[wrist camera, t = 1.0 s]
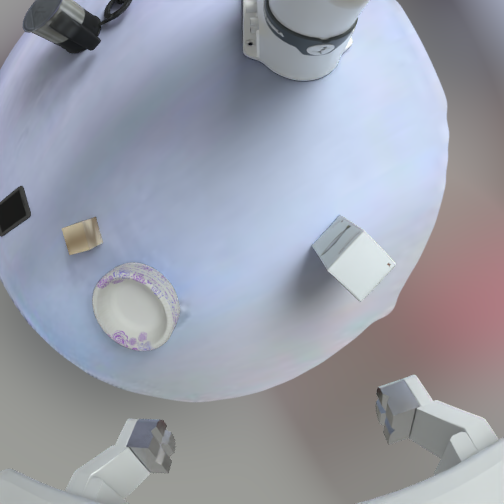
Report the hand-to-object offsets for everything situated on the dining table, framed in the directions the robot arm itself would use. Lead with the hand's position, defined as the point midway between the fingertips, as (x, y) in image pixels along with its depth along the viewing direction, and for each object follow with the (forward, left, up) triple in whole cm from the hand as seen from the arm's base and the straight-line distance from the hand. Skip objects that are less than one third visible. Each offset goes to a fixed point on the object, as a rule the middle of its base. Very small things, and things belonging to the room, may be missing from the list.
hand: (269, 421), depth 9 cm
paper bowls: (+9, -24, -40) cm, 47 cm away
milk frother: (-47, -22, -40) cm, 66 cm away
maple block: (-5, -32, -40) cm, 51 cm away
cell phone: (-15, -54, -40) cm, 69 cm away
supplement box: (+6, +12, -40) cm, 42 cm away
